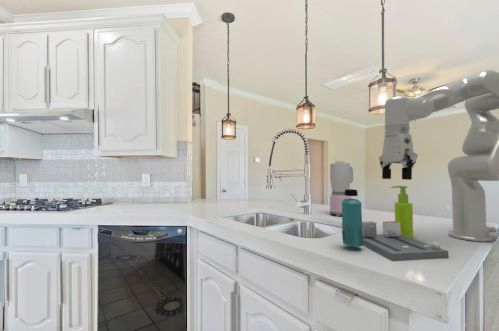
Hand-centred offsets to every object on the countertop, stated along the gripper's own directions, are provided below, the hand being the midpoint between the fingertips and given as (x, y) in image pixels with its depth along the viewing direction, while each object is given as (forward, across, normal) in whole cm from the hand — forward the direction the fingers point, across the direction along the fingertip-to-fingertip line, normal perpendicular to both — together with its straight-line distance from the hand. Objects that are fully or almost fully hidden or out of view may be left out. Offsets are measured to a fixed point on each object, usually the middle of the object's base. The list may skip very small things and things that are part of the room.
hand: (396, 179), depth 84 cm
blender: (+23, +56, -11) cm, 61 cm away
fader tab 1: (+21, +3, +9) cm, 23 cm away
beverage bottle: (+24, -2, +18) cm, 30 cm away
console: (+23, -4, +3) cm, 24 cm away
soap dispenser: (+23, +9, -10) cm, 26 cm away
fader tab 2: (+21, +2, 0) cm, 21 cm away
